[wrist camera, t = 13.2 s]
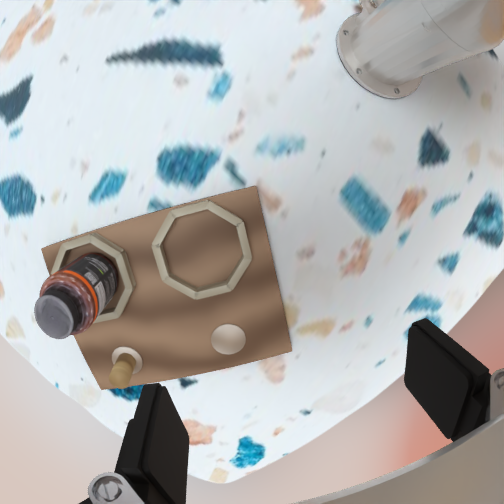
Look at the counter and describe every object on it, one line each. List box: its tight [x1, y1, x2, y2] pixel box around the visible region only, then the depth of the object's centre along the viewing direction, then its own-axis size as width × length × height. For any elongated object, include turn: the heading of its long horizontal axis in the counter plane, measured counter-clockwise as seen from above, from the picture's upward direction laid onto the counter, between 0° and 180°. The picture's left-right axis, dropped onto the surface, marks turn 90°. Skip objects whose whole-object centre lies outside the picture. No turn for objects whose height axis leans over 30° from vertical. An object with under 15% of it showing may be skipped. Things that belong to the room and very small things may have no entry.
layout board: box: [41, 186, 292, 390], centre depth 32 cm, size 20×26×6 cm
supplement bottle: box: [34, 253, 118, 339], centre depth 26 cm, size 6×6×11 cm
